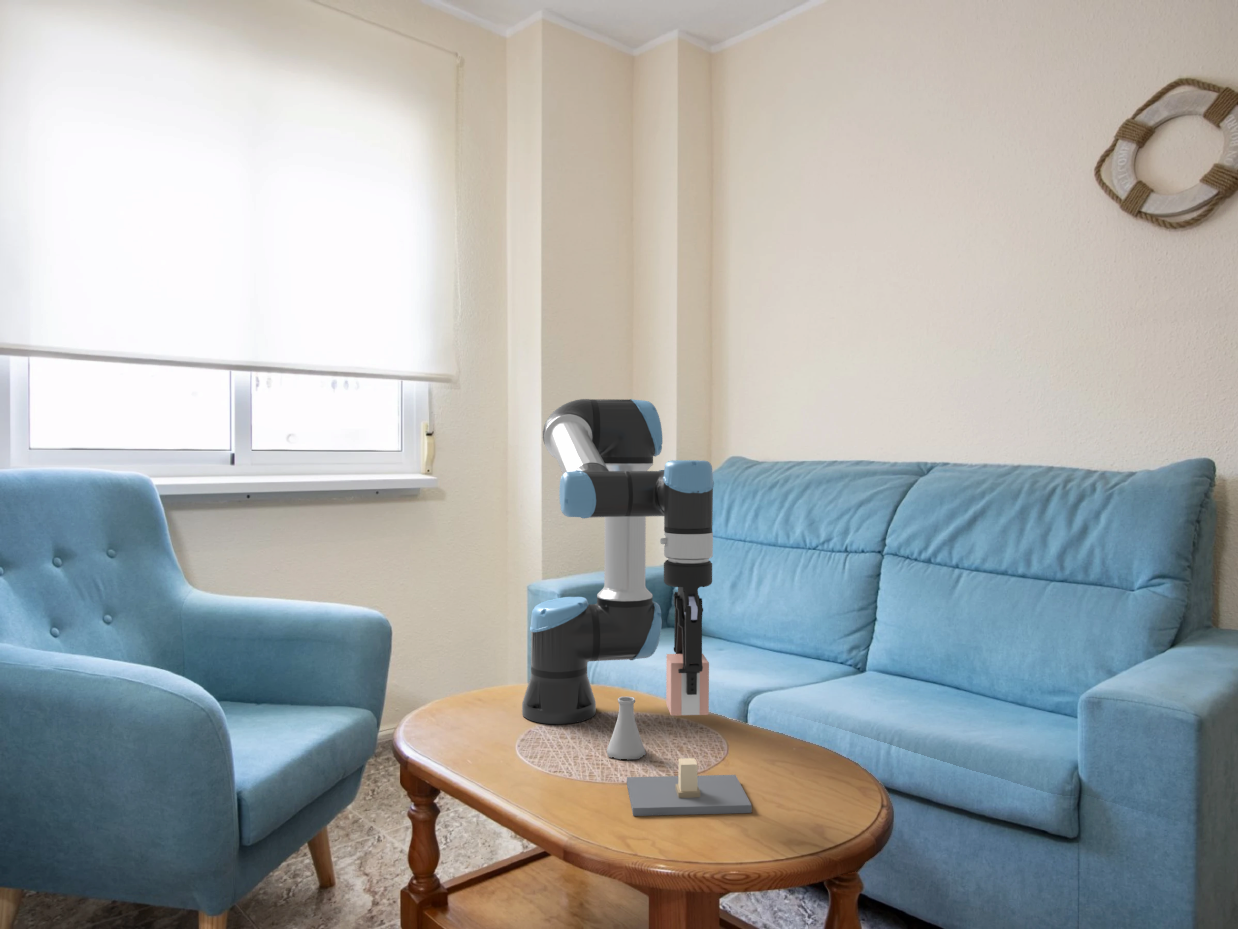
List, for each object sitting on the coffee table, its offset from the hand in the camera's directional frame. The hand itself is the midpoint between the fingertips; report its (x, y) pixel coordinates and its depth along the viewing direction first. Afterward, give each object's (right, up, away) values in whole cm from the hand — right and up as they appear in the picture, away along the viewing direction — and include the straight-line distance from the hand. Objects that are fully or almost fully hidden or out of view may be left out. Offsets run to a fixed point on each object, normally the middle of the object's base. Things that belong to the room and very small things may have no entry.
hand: (687, 707), depth 136 cm
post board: (0, -15, +2) cm, 15 cm away
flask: (-9, -14, +21) cm, 27 cm away
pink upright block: (0, 0, 0) cm, 0 cm away
